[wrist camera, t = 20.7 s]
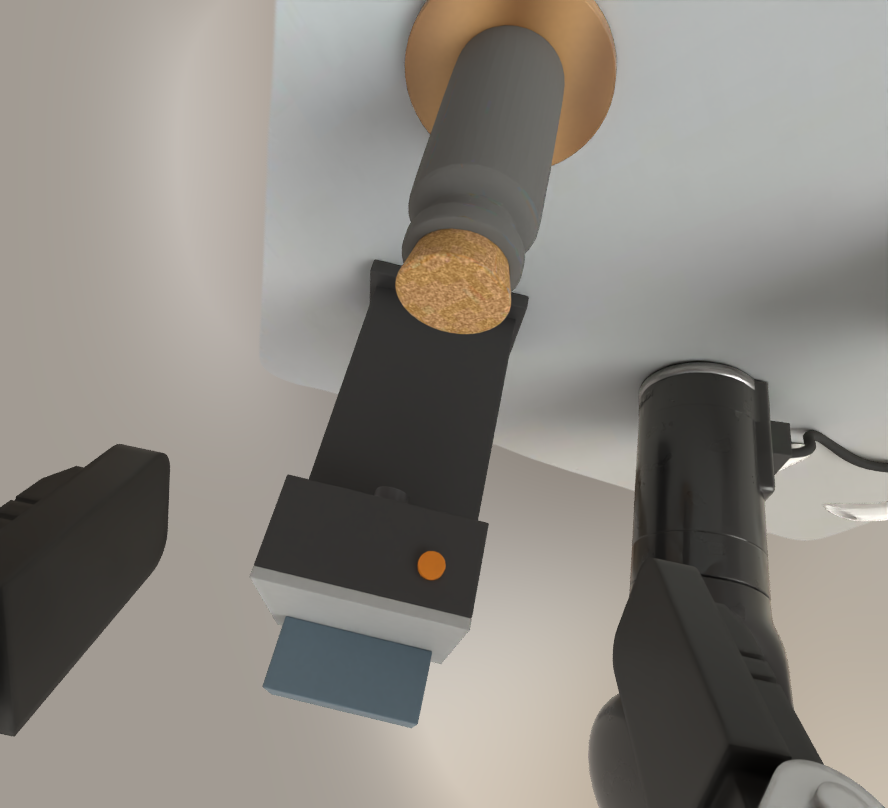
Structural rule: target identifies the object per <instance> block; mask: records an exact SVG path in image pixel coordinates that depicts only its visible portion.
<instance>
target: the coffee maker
mask: <svg viewBox="0 0 888 808" xmlns="http://www.w3.org/2000/svg"><path fill="white" fill-rule="evenodd" d="M401 267H402V266H399V265H395V264H391V263H387V262H382V261H378V260H374V262H373V265H372V268H371V273H370V305H369V308H368V311H367V314H366V317H365V320H364V322H363V325H362V328H361V331H360V334H359V337H358V340H357V343H356V345H355V348H354V351H353V354H352V357H351V360H350V363H349V365H348V368H347V371H346V374H345V377H344V380H343V383H342V386H341V388H340V391H339V394H338V397H337V400H336V403H335V406H334V409H333V412H332V414H331V417H330V420H329V423H328V426H327V429H326V432H325V434H324V437H323V440H322V443H321V446H320V449H319V452H318V455H317V457H316V460H315V463H314V466H313V469H312V472H311V475H310V477H309V479H305V478H300V477H296V476H292V475H287V477H286V480H285V482H284V485H283V488H282V491H281V493H280V496H279V499H278V502H277V504H276V507H275V509H274V512H273V515H272V517H271V520H270V523H269V526H268V528H267V531H266V534H265V536H264V539H263V542H262V545H261V547H260V550H259V553H258V555H257V558H256V561H255V563H254V566H253V569H252V571H251V574H250V578H251V580H252V582H253V584H254V585H255V587H256V589H257V590H258V592H259V594H260V596H261V597H262V599H263V601H264V602H265V604H266V606H267V607H268V609H269V611H270V613H271V614H272V616H273V618H274V619H275V621H276V623H277V624H278V625H282V629H281V632H280V635H279V638H278V641H277V644H276V647H275V650H274V653H273V656H272V659H271V662H270V665H269V668H268V671H267V675H266V677H265V680H264V683H263V688H265V689H266V690H267V691H268V692H270V693H271V694H273V695H278V696H282V697H286V698H290V699H294V700H298V701H302V702H307V703H310V704H315V705H319V706H323V707H327V708H331V709H335V710H339V711H343V712H347V713H352V714H356V715H360V716H364V717H368V718H372V719H376V720H380V721H385V722H389V723H393V724H397V725H401V726H405V727H409V728H412V727H414V726H416V725H417V724H418V719H419V714H420V710H421V705H422V700H423V695H424V691H425V686H426V681H427V676H428V671H429V666H430V661H431V662H435V663H439V664H441V663H442V662H443V661H444V660H445V659H446V657H447V656H448V655H449V654H450V653H451V652H452V650H453V649H454V648H455V647H456V645H457V644H458V643H459V642H460V641H461V640H462V638H463V637H464V636H465V635H466V634H467V633H468V631H469V630H470V625H471V618H472V614H473V609H474V603H475V597H476V592H477V586H478V581H479V575H480V569H481V564H482V558H483V553H484V547H485V541H486V536H487V530H488V525H489V524H488V523H486V522H481V521H478V516H479V512H480V506H481V501H482V495H483V491H484V485H485V480H486V475H487V469H488V464H489V459H490V453H491V448H492V443H493V438H494V432H495V427H496V422H497V417H498V411H499V406H500V401H501V395H502V390H503V385H504V380H505V374H506V369H507V364H508V358H509V355H510V352H511V350H512V347H513V344H514V341H515V339H516V336H517V333H518V331H519V328H520V325H521V323H522V320H523V317H524V315H525V312H526V309H527V304H528V299H529V298H528V297H527V296H523V295H519V294H515V293H511V307H510V311H509V313H508V315H507V316H506V318H505V319H504V320H503V321H502V322H501V323H500V324H499V325H497V326H496V327H494V328H492V329H490V330H487V331H484V332H481V333H475V334H456V333H449V332H445V331H441V330H438V329H435V328H433V327H430V326H428V325H426V324H424V323H422V322H421V321H419V320H418V319H416V318H415V317H414V316H412V315H411V314H410V313H409V312H408V311H407V310H406V309H405V308H404V306H403V305H402V303H401V302H400V300H399V298H398V295H397V292H396V286H395V282H396V277H397V274H398V271H399V270H400V268H401Z"/></svg>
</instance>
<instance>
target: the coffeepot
mask: <svg viewBox="0 0 888 808" xmlns="http://www.w3.org/2000/svg"><path fill="white" fill-rule="evenodd" d="M823 507H824V508H825V509H826V510H827V511H829V512H830V513H832V514H834V515H836V516H838V517H841V518H844V519H848V520H853V521H881V520H888V501H886V502H879V503H854V504H840V503H823Z"/></svg>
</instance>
